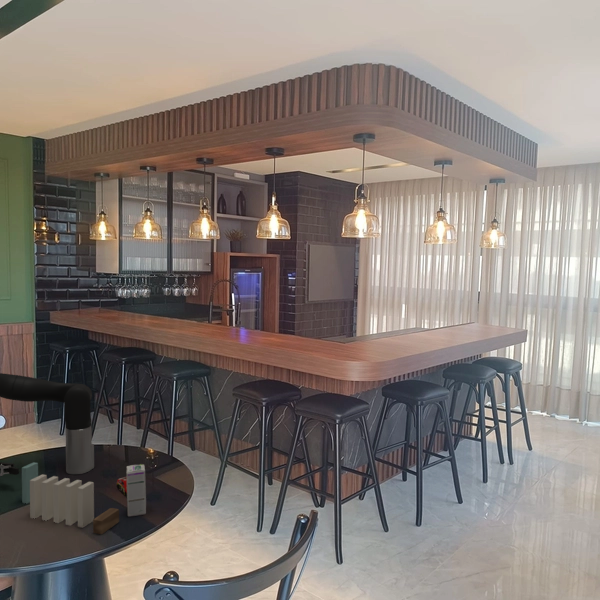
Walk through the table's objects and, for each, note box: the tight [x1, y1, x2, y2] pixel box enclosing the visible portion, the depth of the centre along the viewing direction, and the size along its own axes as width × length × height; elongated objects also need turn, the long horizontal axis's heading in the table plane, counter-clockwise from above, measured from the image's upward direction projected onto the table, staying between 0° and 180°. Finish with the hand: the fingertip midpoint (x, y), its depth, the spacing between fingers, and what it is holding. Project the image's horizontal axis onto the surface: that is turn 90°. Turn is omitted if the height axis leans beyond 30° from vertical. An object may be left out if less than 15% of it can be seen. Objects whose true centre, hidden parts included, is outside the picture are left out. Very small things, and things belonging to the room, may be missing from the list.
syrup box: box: [125, 463, 147, 517], centre depth 162 cm, size 6×6×14 cm
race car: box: [116, 476, 127, 498], centre depth 179 cm, size 13×5×4 cm, turn 38°
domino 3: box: [41, 475, 59, 522], centre depth 158 cm, size 2×5×12 cm, turn 163°
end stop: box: [92, 507, 120, 535], centre depth 152 cm, size 3×8×4 cm, turn 163°
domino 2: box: [29, 473, 48, 520], centre depth 160 cm, size 2×5×12 cm, turn 163°
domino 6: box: [77, 481, 95, 528], centre depth 154 cm, size 2×5×12 cm, turn 163°
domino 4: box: [53, 477, 71, 524], centre depth 157 cm, size 2×5×12 cm, turn 163°
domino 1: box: [21, 461, 39, 505], centre depth 170 cm, size 2×5×12 cm, turn 163°
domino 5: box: [65, 479, 83, 526], centre depth 156 cm, size 2×5×12 cm, turn 163°
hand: (7, 476), depth 173 cm, fingers open, 8 cm apart
